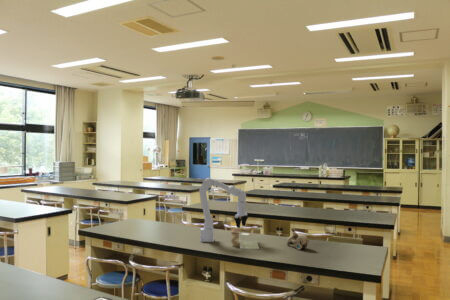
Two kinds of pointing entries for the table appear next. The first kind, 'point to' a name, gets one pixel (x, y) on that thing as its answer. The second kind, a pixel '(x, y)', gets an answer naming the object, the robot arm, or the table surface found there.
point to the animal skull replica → (298, 241)
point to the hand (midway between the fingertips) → (240, 226)
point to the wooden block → (234, 237)
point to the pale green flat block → (248, 244)
